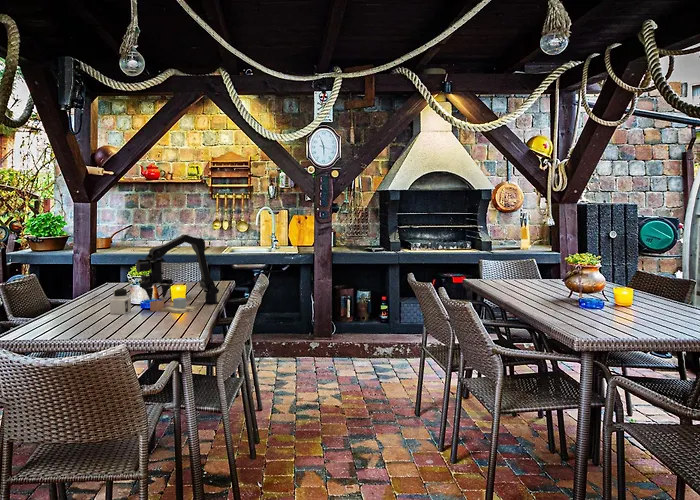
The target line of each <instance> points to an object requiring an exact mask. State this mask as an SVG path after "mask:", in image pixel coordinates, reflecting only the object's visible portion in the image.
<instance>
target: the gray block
mask: <svg viewBox="0 0 700 500" xmlns="http://www.w3.org/2000/svg"><path fill="white" fill-rule="evenodd" d="M187 302H188V301H187V298H186V297H177V298H173V299H172V306H173V308H178V309H181V308H186V307H187Z"/></svg>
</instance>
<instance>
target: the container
mask: <svg viewBox="0 0 700 500" xmlns="http://www.w3.org/2000/svg"><path fill="white" fill-rule="evenodd" d="M131 299H132V298H131V297H128V292H127V289H126V288H115V289H114V290H113V298H111V299H110V300H109V313H110V314H111V315H125V314H129V313H130V312H131V311H132V309H131V308H132V303H131V302H132V300H131Z"/></svg>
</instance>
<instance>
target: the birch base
mask: <svg viewBox="0 0 700 500" xmlns="http://www.w3.org/2000/svg"><path fill="white" fill-rule="evenodd" d="M199 307H200V306H195V305H187V307H186V308H181V309H178V308H173V305H171V306H166V307H164V308H161V311H160V312H165V313H172V314H179V315H181V314H184V313H189V312H193V311H197V310H199Z"/></svg>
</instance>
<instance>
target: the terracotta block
mask: <svg viewBox="0 0 700 500" xmlns="http://www.w3.org/2000/svg"><path fill="white" fill-rule="evenodd" d="M149 306H150V307H149V308H150V311H151V312H162V311H161V308H165V301H164V300H158V299H157V300H151V301H149Z"/></svg>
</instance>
